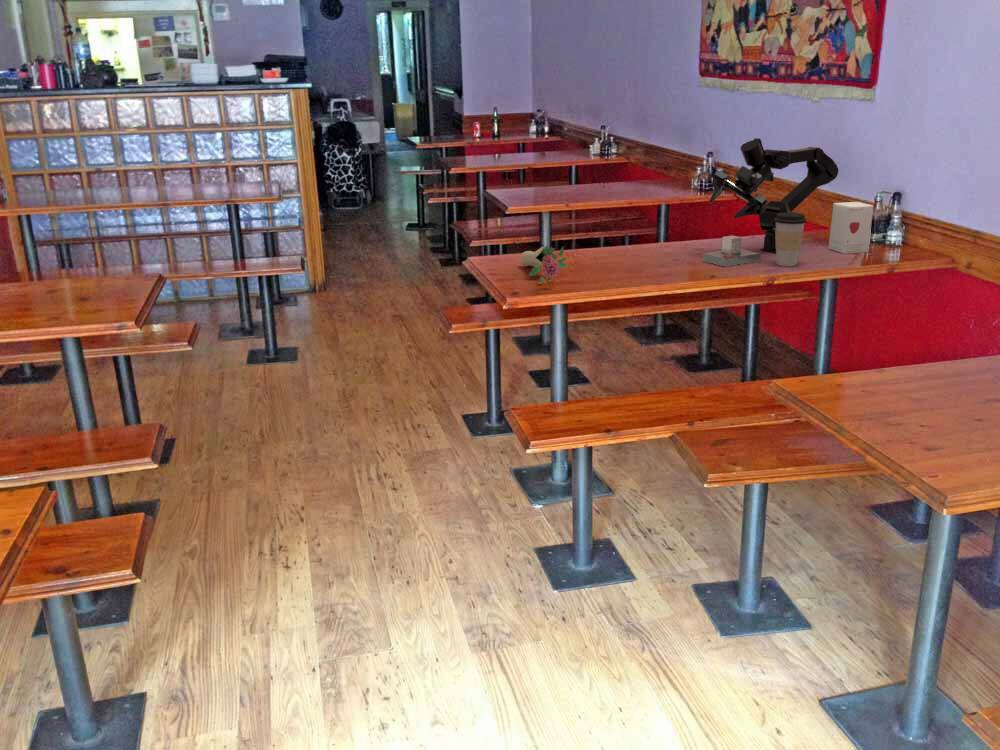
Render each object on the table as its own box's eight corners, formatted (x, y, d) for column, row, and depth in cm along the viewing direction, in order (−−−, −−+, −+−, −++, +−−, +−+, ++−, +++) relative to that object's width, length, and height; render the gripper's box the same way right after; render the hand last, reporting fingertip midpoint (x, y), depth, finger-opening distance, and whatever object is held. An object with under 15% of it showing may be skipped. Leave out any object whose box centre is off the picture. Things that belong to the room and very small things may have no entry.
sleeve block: (736, 256, 294) (737, 246, 293) (759, 261, 285) (760, 252, 284) (702, 261, 287) (702, 251, 287) (724, 267, 279) (724, 257, 278)
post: (731, 259, 289) (732, 235, 287) (740, 261, 286) (742, 237, 283) (720, 260, 287) (722, 236, 285) (730, 263, 284) (731, 239, 281)
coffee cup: (779, 268, 276) (783, 217, 271) (764, 262, 285) (768, 212, 280) (808, 266, 278) (813, 216, 273) (793, 260, 287) (797, 211, 282)
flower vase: (540, 291, 286) (572, 292, 252) (502, 281, 284) (530, 281, 249) (549, 253, 286) (583, 249, 252) (511, 243, 283) (540, 238, 249)
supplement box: (843, 254, 294) (848, 206, 289) (827, 249, 302) (832, 202, 297) (869, 252, 295) (874, 205, 291) (852, 247, 304) (857, 201, 299)
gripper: (732, 145, 284) (699, 177, 280) (783, 176, 276) (749, 209, 272) (728, 169, 294) (696, 200, 289) (777, 200, 286) (745, 231, 282)
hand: (721, 209), depth 283 cm, fingers open, 9 cm apart
